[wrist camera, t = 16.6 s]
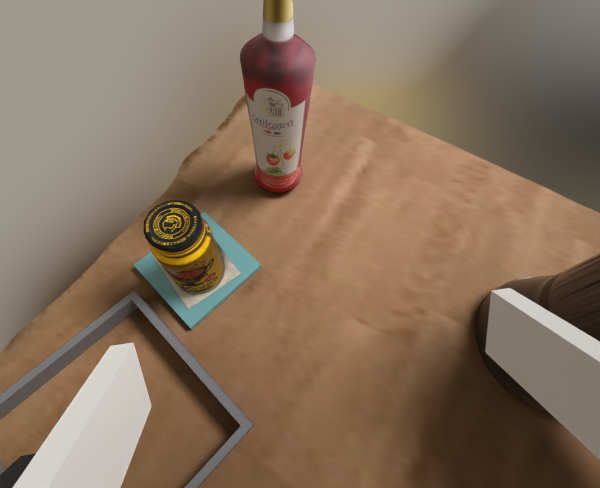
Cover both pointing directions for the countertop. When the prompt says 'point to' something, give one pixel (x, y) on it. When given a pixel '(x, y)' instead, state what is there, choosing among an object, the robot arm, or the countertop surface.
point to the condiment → (187, 251)
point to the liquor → (278, 96)
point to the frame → (97, 330)
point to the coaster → (211, 302)
